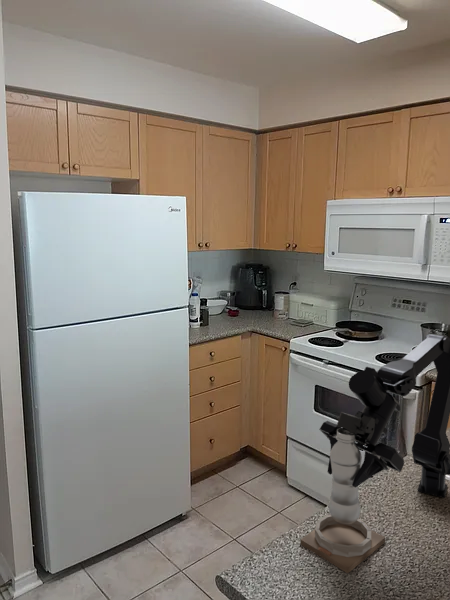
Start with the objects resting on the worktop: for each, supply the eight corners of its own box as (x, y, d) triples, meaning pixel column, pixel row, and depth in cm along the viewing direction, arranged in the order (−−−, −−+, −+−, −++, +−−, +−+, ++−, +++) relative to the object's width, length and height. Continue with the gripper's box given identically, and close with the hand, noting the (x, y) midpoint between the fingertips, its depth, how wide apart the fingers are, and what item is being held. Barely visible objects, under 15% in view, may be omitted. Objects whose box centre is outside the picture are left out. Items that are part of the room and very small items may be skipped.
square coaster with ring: (338, 517, 113) (338, 505, 112) (384, 542, 104) (385, 528, 103) (300, 544, 103) (300, 530, 103) (347, 573, 94) (348, 558, 94)
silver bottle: (340, 506, 107) (341, 422, 104) (366, 519, 102) (368, 431, 99) (322, 518, 103) (323, 430, 100) (348, 532, 98) (350, 441, 95)
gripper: (325, 386, 108) (290, 446, 104) (397, 411, 93) (360, 482, 89) (347, 411, 114) (315, 468, 109) (419, 437, 99) (385, 505, 95)
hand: (341, 479), depth 100 cm, fingers closed on silver bottle, 6 cm apart
